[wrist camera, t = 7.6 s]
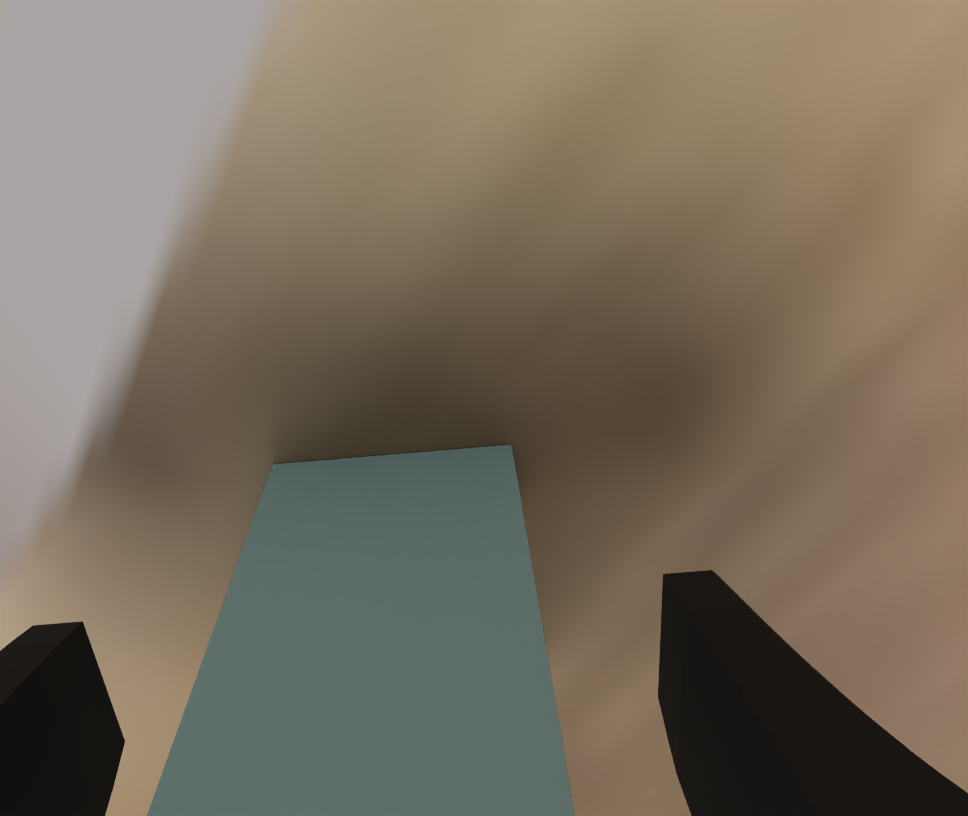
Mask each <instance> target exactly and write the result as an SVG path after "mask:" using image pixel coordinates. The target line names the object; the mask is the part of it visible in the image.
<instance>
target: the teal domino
mask: <svg viewBox="0 0 968 816" xmlns="http://www.w3.org/2000/svg"><path fill="white" fill-rule="evenodd" d="M147 816H575V813H574V807H573V801H572V796H571V790H570V784H569V778H568V772H567V766H566V760H565V755H564V749H563V743H562V737H561V731H560V725H559V720H558V714H557V708H556V702H555V696H554V690H553V684H552V679H551V673H550V667H549V661H548V655H547V649H546V643H545V638H544V632H543V626H542V620H541V614H540V608H539V602H538V597H537V591H536V585H535V579H534V573H533V567H532V561H531V556H530V550H529V544H528V538H527V532H526V526H525V521H524V515H523V509H522V503H521V497H520V491H519V485H518V480H517V474H516V468H515V462H514V456H513V450H512V445H500V446H488V447H476V448H464V449H452V450H440V451H428V452H416V453H404V454H392V455H380V456H367V457H355V458H343V459H331V460H319V461H307V462H295V463H283V464H273V465H272V467H271V470H270V473H269V476H268V479H267V481H266V484H265V487H264V490H263V493H262V495H261V498H260V501H259V504H258V507H257V509H256V512H255V515H254V518H253V521H252V523H251V526H250V529H249V532H248V535H247V537H246V540H245V543H244V546H243V549H242V551H241V554H240V557H239V560H238V563H237V565H236V568H235V571H234V574H233V577H232V579H231V582H230V585H229V588H228V591H227V593H226V596H225V599H224V602H223V605H222V607H221V610H220V613H219V616H218V619H217V621H216V624H215V627H214V630H213V633H212V635H211V638H210V641H209V644H208V647H207V649H206V652H205V655H204V658H203V661H202V663H201V666H200V669H199V672H198V675H197V678H196V680H195V683H194V686H193V689H192V692H191V694H190V697H189V700H188V703H187V706H186V708H185V711H184V714H183V717H182V720H181V722H180V725H179V728H178V731H177V734H176V736H175V739H174V742H173V745H172V748H171V750H170V753H169V756H168V759H167V762H166V764H165V767H164V770H163V773H162V776H161V778H160V781H159V784H158V787H157V790H156V792H155V795H154V798H153V801H152V804H151V806H150V809H149V812H148V815H147Z"/></svg>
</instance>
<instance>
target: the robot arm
mask: <svg viewBox="0 0 968 816" xmlns="http://www.w3.org/2000/svg"><path fill="white" fill-rule="evenodd" d="M658 698H659V703H660V707H661V711H662V715H663V720H664V724H665V728H666V732H667V737H668V741H669V745H670V749H671V753H672V757H673V761H674V765H675V769H676V773H677V776H678V779H679V782H680V785H681V787H682V790H683V793H684V796H685V799H686V801H687V804H688V807H689V810H690V812H691V815H692V816H968V793H967V792H965V791H964V790H963V789H961V788H960V787H958V786H957V785H956V784H954V783H953V782H951V781H950V780H949V779H947V778H946V777H944V776H943V775H942V774H940V773H939V772H938V771H936V770H935V769H934V768H932V767H931V766H930V765H928V764H927V763H926V762H924V761H923V760H922V759H921V758H919V757H918V756H917V755H915V754H914V753H913V752H911V751H910V750H909V749H908V748H906V747H905V746H904V745H903V744H902V743H900V742H899V741H898V740H897V739H895V738H894V737H893V736H892V735H891V734H889V733H888V732H887V731H886V730H884V729H883V728H882V727H881V726H880V725H878V724H877V723H876V722H875V721H873V720H872V719H871V718H870V717H869V716H868V715H866V714H865V713H864V712H863V711H862V710H861V709H859V708H858V707H857V706H856V705H855V704H854V703H852V702H851V701H850V700H849V699H848V698H847V697H845V696H844V695H843V694H842V693H841V692H840V691H839V690H838V689H837V688H835V687H834V686H833V685H832V684H831V683H830V682H829V681H828V680H827V679H825V678H824V677H823V676H822V675H821V674H820V673H819V672H818V671H817V670H815V669H814V668H813V667H812V666H811V665H810V664H809V663H808V662H807V661H805V660H804V659H803V658H802V657H801V656H800V655H799V654H798V653H797V652H796V651H795V650H794V649H793V648H792V647H790V646H789V645H788V644H787V643H786V642H785V641H784V640H783V639H782V638H781V637H780V636H779V635H778V634H777V633H776V632H775V631H774V630H773V629H772V628H771V627H770V626H769V625H768V624H767V623H766V622H765V621H763V620H762V619H761V618H760V617H759V616H758V615H757V614H756V613H755V612H754V611H753V610H752V609H751V608H750V607H749V606H748V605H747V604H746V603H745V602H744V601H743V600H742V599H741V598H740V597H739V596H738V595H737V594H736V593H735V592H734V591H733V590H732V589H731V588H730V587H729V586H728V585H727V584H726V583H725V582H724V581H723V580H722V579H721V578H720V577H719V576H718V575H717V574H716V573H714V572H713V571H712V570H708V571H696V572H684V573H671V574H663V591H662V615H661V638H660V662H659V686H658ZM124 743H125V740H124V737H123V735H122V732H121V729H120V726H119V723H118V720H117V718H116V715H115V712H114V709H113V706H112V703H111V701H110V698H109V695H108V692H107V689H106V686H105V684H104V681H103V678H102V675H101V672H100V669H99V667H98V664H97V661H96V658H95V655H94V652H93V650H92V647H91V644H90V641H89V638H88V635H87V633H86V630H85V627H84V624H83V622H72V623H60V624H47V625H35V626H32V627H31V628H29V629H28V630H27V631H25V632H24V633H23V634H21V635H20V636H19V637H17V638H16V639H15V640H13V641H12V642H11V643H10V644H8V645H7V646H6V647H4V648H3V649H2V650H1V651H0V816H105V814H106V810H107V807H108V803H109V800H110V796H111V793H112V790H113V786H114V782H115V778H116V774H117V770H118V767H119V763H120V759H121V755H122V751H123V747H124Z"/></svg>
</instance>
